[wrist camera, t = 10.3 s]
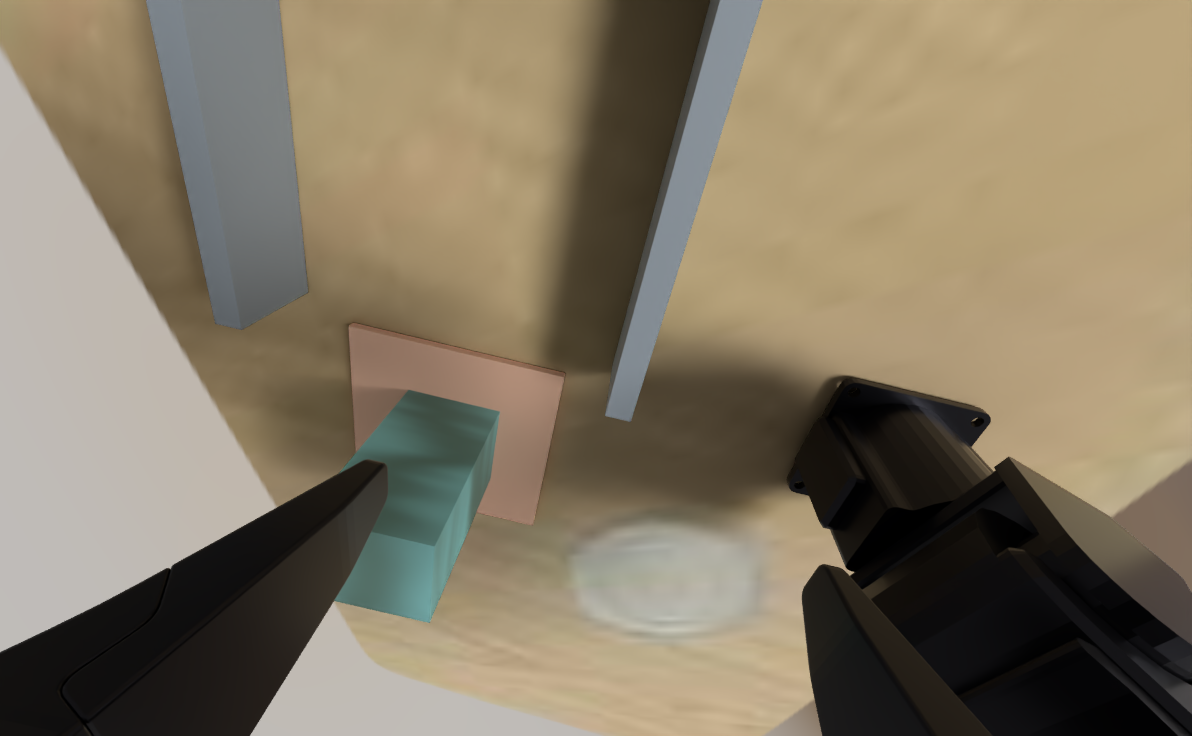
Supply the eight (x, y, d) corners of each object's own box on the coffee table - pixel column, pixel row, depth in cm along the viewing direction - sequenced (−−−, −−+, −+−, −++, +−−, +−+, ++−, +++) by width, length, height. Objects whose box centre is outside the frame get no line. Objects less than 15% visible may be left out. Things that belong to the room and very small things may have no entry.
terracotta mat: (565, 372, 22) (564, 377, 22) (534, 520, 27) (532, 525, 27) (353, 322, 22) (348, 326, 22) (361, 480, 27) (357, 485, 26)
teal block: (499, 411, 23) (434, 546, 16) (490, 478, 25) (429, 622, 18) (408, 389, 23) (303, 515, 16) (407, 459, 25) (314, 596, 18)
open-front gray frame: (773, -101, 14) (815, -170, 10) (633, 369, 22) (630, 421, 18) (219, -244, 13) (67, -365, 10) (286, 287, 21) (215, 323, 18)
